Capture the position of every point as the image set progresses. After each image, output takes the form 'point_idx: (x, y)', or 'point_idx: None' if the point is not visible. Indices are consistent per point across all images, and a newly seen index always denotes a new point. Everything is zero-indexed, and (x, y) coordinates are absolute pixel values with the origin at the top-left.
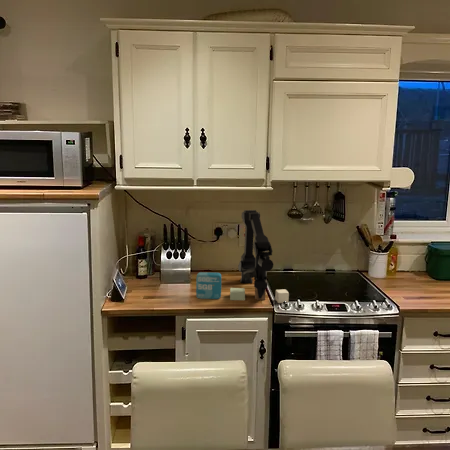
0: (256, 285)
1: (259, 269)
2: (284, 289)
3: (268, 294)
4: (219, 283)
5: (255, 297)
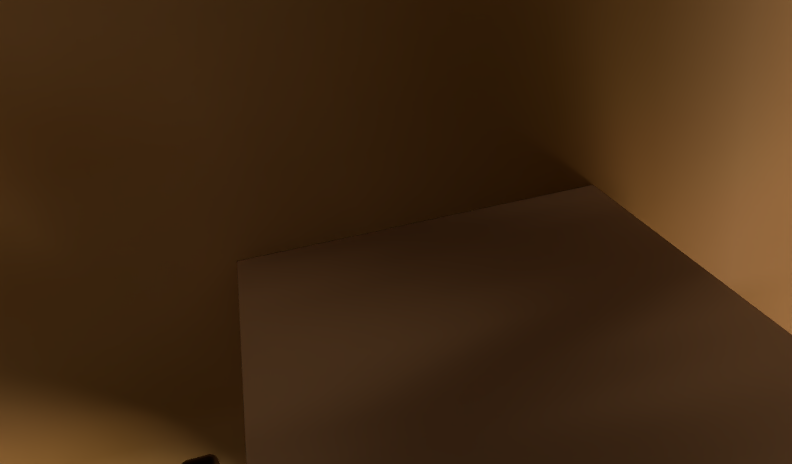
0: None
1: None
2: None
3: None
4: None
5: (247, 327)
